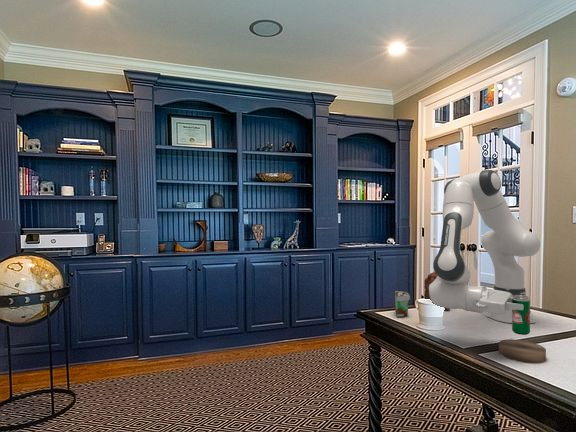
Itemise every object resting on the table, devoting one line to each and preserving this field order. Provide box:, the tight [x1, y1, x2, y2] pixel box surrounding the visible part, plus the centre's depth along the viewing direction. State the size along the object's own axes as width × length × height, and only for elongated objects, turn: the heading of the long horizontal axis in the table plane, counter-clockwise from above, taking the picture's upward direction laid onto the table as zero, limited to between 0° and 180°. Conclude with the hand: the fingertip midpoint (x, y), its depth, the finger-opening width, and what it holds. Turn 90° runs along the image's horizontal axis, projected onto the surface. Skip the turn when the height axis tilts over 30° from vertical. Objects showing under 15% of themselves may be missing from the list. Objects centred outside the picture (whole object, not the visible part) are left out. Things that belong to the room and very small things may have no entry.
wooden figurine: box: [423, 271, 451, 312], centre depth 180 cm, size 12×6×18 cm, turn 77°
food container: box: [394, 290, 411, 319], centre depth 170 cm, size 12×6×10 cm, turn 168°
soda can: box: [511, 295, 531, 336], centre depth 122 cm, size 5×5×12 cm
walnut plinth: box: [498, 338, 547, 364], centre depth 122 cm, size 13×13×3 cm
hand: (524, 305), depth 121 cm, fingers closed on soda can, 5 cm apart
